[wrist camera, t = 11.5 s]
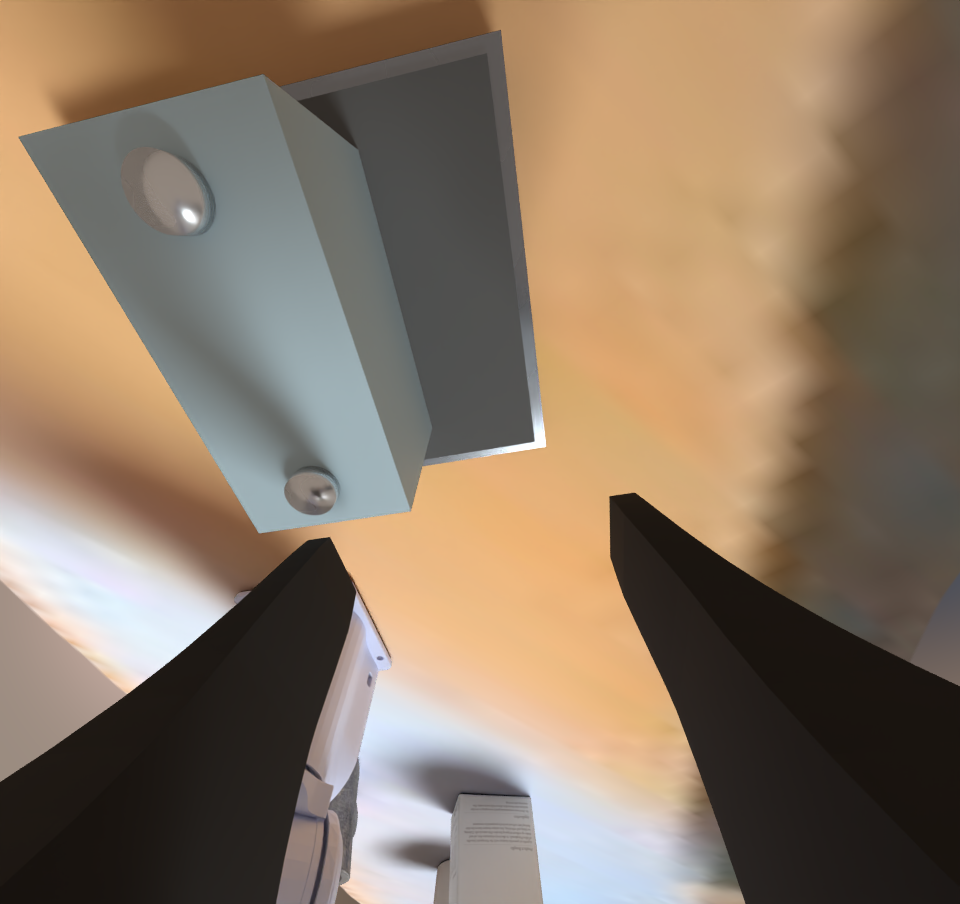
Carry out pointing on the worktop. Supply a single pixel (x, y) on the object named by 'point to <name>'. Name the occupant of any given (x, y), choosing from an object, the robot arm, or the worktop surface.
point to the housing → (254, 292)
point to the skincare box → (493, 851)
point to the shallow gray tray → (448, 233)
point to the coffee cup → (442, 883)
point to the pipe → (347, 819)
